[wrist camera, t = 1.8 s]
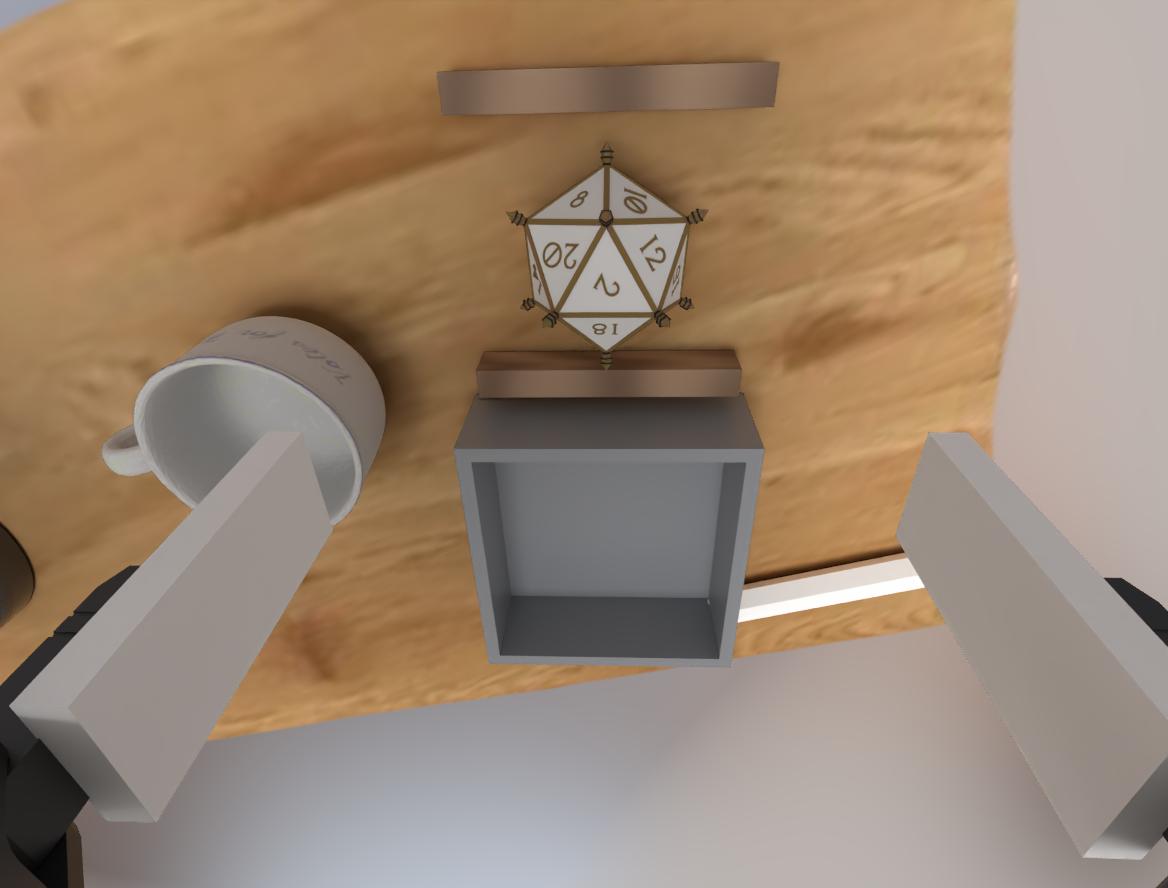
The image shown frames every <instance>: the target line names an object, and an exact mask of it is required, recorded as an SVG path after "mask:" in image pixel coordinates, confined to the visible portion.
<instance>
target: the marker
mask: <svg viewBox="0 0 1168 888" xmlns="http://www.w3.org/2000/svg"><path fill="white" fill-rule="evenodd" d="M924 587H925V586H924V584H923V583H922V581H921V579H920V578H919V576H918V574H917V572H916V571H915V569H914V567H913V566H912V564H911V562H910V560H909V559H908V557H907V555H906V554H905V553H900V554H895V555H890V556H885V557H880V558H875V559H870V560H865V561H860V562H855V563H850V564H845V565H840V566H835V567H830V568H825V569H820V570H815V571H810V572H805V573H800V574H795V575H790V576H785V577H780V578H775V579H770V580H765V581H760V582H755V583H750V584H745V585H743V591H742V598H741V604H740V611H739V617H738V622H742V621H748V620H753V619H758V618H764V617H769V616H774V615H780V614H785V613H790V612H796V611H801V610H806V609H812V608H817V607H822V606H828V605H833V604H838V603H844V602H849V601H854V600H860V599H865V598H870V597H876V596H881V595H886V594H892V593H897V592H902V591H908V590H913V589H918V588H924ZM707 602H708V604H709V599H708V600H707ZM709 605H710V604H709Z"/></svg>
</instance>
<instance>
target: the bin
mask: <svg viewBox="0 0 1168 888" xmlns="http://www.w3.org/2000/svg"><path fill="white" fill-rule="evenodd" d="M764 450H765V449H764V446H763V443H762V441H761V438H760V436H759V433H758V431H757V428H756V426H755V423H754V420H753V418H752V415H751V413H750V410H749V408H748V405H747V402H746V400H745V397H744V395H743V393H739V397H508V398H479V394H476V396H475V398H474V400H473V403H472V405H471V408H470V410H469V413H468V415H467V418H466V420H465V422H464V425H463V427H462V430H461V432H460V435H459V437H458V440H457V442H456V444H455V447H454V455H455V461H456V467H457V473H458V479H459V485H460V491H461V497H462V503H463V509H464V515H465V521H466V527H467V533H468V539H469V545H470V552H471V558H472V564H473V570H474V576H475V582H476V588H477V594H478V600H479V606H480V612H481V618H482V624H483V630H484V636H485V643H486V649H487V655H488V661H489V664H546V665H605V666H665V667H728V668H730V667H731V662H732V656H733V649H734V643H735V636H736V630H737V624H738V617H739V611H740V604H741V598H742V591H743V585H744V579H745V572H746V566H747V559H748V553H749V547H750V540H751V534H752V527H753V521H754V514H755V508H756V502H757V495H758V489H759V482H760V476H761V470H762V463H763V457H764ZM708 599H709V604H710V605H709V604H708V602H707V600H708Z"/></svg>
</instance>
